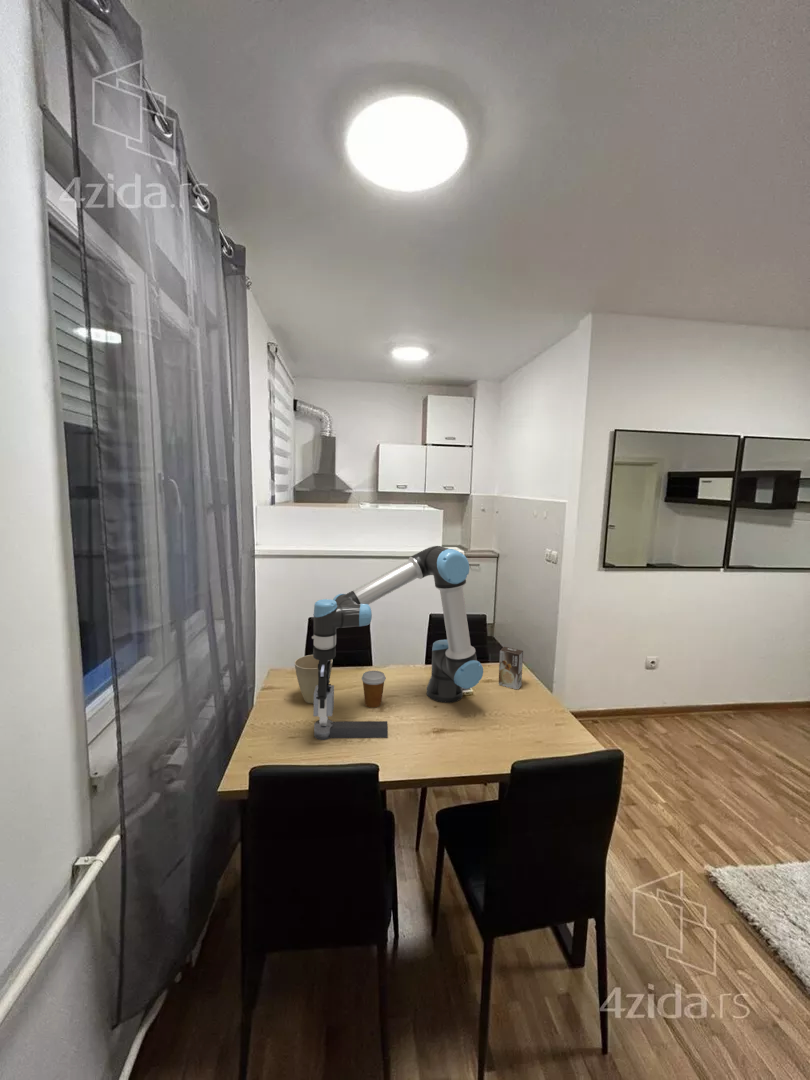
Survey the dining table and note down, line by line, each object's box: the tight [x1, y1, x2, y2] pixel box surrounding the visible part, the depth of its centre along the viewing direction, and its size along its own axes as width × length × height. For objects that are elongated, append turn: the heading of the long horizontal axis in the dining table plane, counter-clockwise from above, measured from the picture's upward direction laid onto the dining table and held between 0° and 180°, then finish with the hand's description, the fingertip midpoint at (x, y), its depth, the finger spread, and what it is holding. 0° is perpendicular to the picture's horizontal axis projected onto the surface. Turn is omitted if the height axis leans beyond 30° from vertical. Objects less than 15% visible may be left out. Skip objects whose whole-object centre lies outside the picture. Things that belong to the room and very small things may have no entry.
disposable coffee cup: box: [361, 670, 386, 709], centre depth 173 cm, size 10×10×12 cm
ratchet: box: [313, 716, 389, 741], centre depth 151 cm, size 25×6×10 cm, turn 94°
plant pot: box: [294, 654, 333, 704], centre depth 175 cm, size 15×15×16 cm
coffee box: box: [497, 646, 524, 690], centre depth 194 cm, size 9×6×16 cm
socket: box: [313, 684, 335, 717], centre depth 149 cm, size 6×6×8 cm
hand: (323, 710), depth 150 cm, fingers closed on socket, 6 cm apart
